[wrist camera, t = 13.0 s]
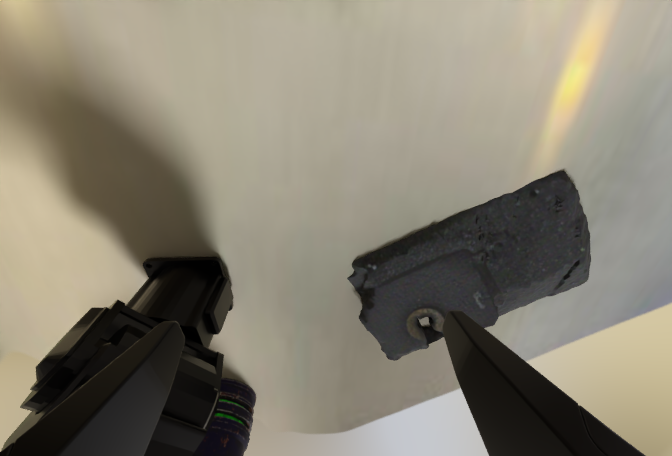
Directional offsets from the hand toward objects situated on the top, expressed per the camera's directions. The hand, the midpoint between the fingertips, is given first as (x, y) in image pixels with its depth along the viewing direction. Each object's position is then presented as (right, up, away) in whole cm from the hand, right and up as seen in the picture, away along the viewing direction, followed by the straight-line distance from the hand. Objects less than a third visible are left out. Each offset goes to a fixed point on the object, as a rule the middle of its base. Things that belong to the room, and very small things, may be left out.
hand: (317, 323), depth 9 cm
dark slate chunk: (+14, -1, +18) cm, 22 cm away
